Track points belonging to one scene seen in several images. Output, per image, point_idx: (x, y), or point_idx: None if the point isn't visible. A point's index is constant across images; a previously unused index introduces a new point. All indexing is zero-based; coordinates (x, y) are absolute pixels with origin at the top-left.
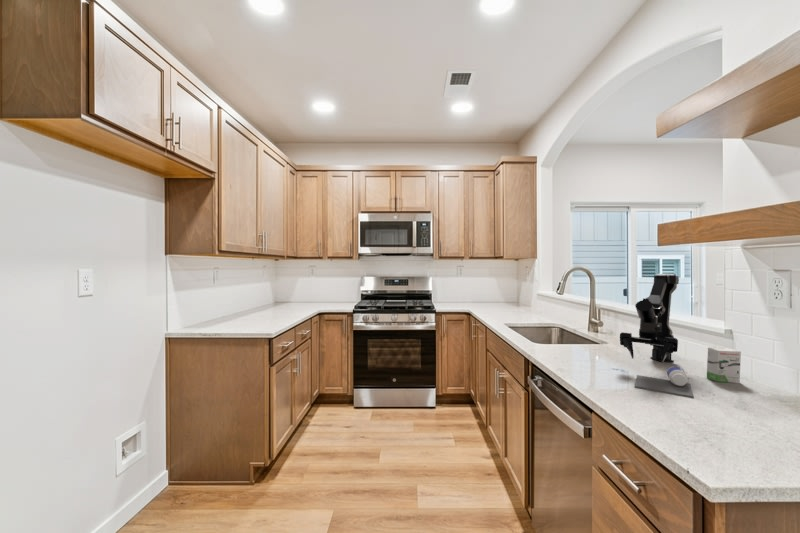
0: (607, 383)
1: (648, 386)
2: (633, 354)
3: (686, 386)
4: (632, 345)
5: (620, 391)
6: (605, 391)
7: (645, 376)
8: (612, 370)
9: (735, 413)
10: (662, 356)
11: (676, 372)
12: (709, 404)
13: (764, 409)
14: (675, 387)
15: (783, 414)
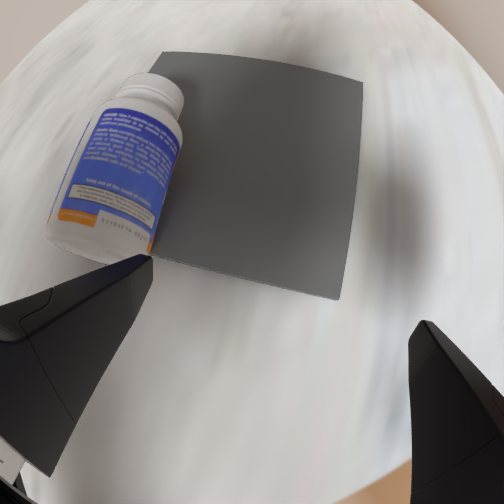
0: (448, 112)
1: (308, 89)
2: (428, 355)
3: None
4: (496, 427)
5: (397, 49)
6: (429, 48)
7: (288, 281)
8: None
9: (124, 15)
10: (111, 275)
11: (140, 99)
12: (148, 32)
13: (28, 77)
14: (179, 119)
15: (19, 70)
